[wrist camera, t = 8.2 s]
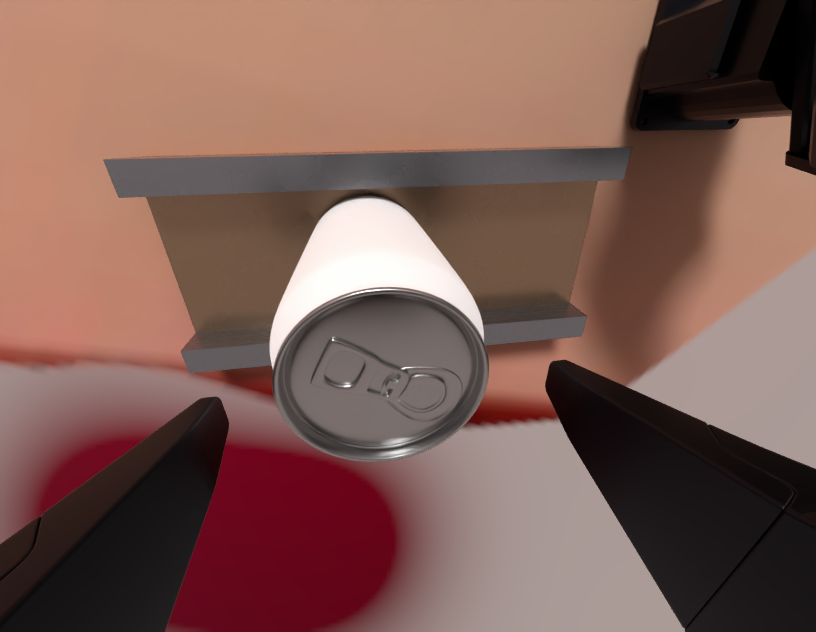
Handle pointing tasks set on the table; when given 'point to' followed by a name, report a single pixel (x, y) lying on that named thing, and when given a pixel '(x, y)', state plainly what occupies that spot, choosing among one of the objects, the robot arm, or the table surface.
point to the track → (383, 177)
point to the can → (376, 338)
